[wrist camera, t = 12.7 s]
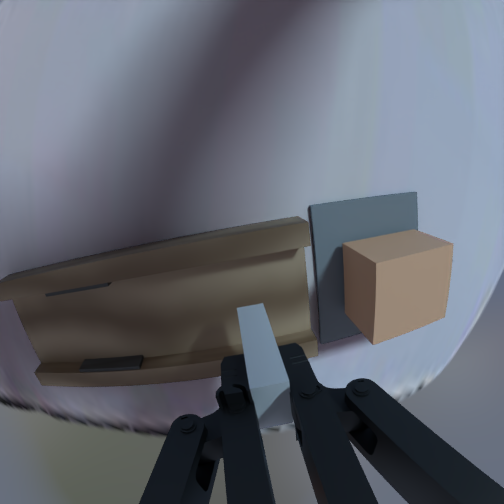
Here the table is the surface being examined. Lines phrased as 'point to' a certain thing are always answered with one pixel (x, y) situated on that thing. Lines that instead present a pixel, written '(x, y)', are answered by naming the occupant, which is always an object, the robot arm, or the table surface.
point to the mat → (346, 230)
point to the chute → (163, 305)
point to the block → (396, 282)
